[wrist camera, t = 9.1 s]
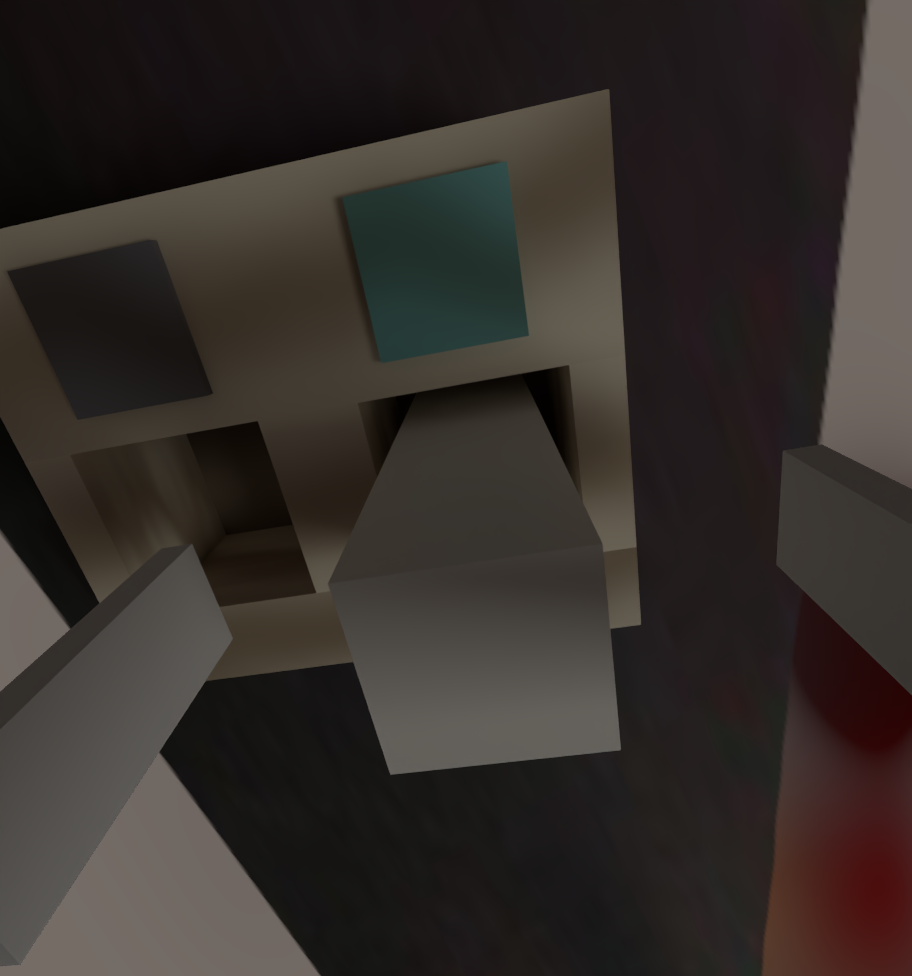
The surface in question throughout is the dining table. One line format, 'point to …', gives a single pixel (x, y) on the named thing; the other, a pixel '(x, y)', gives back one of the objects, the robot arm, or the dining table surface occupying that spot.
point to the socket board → (314, 355)
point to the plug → (478, 590)
